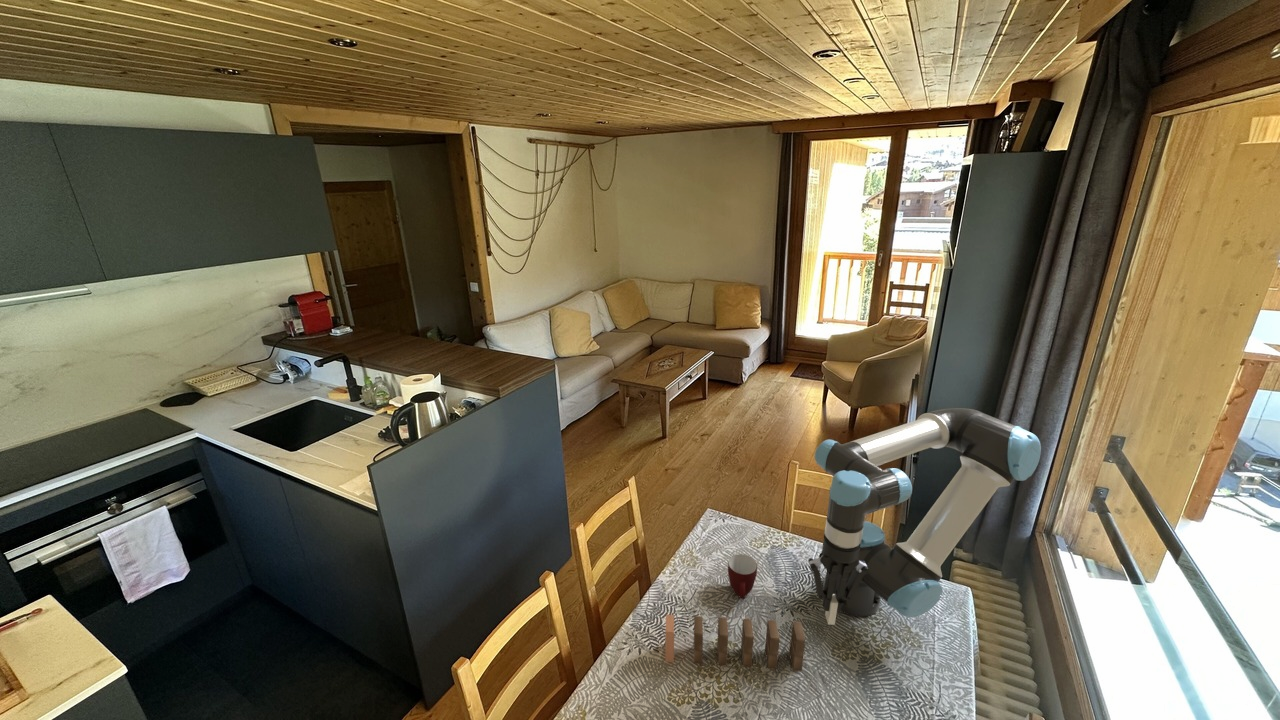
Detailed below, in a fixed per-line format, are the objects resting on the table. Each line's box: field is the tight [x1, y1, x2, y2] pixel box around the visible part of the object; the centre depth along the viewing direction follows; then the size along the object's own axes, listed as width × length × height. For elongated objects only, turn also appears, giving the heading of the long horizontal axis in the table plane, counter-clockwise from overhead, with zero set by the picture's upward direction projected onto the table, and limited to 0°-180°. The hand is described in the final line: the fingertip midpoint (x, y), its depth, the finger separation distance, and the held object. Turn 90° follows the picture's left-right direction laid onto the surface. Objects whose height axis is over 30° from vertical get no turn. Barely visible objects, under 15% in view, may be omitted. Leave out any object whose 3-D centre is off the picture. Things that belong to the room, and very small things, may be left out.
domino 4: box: [740, 618, 755, 668], centre depth 121 cm, size 2×5×10 cm, turn 175°
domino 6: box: [788, 621, 806, 671], centre depth 120 cm, size 2×5×10 cm, turn 175°
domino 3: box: [716, 617, 729, 667], centre depth 121 cm, size 2×5×10 cm, turn 175°
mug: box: [727, 553, 758, 600], centre depth 140 cm, size 11×8×10 cm
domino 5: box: [764, 619, 780, 670], centre depth 120 cm, size 2×5×10 cm, turn 175°
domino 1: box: [664, 614, 675, 663], centre depth 123 cm, size 2×5×10 cm, turn 175°
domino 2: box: [693, 615, 704, 665], centre depth 122 cm, size 2×5×10 cm, turn 175°
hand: (829, 619), depth 116 cm, fingers closed
